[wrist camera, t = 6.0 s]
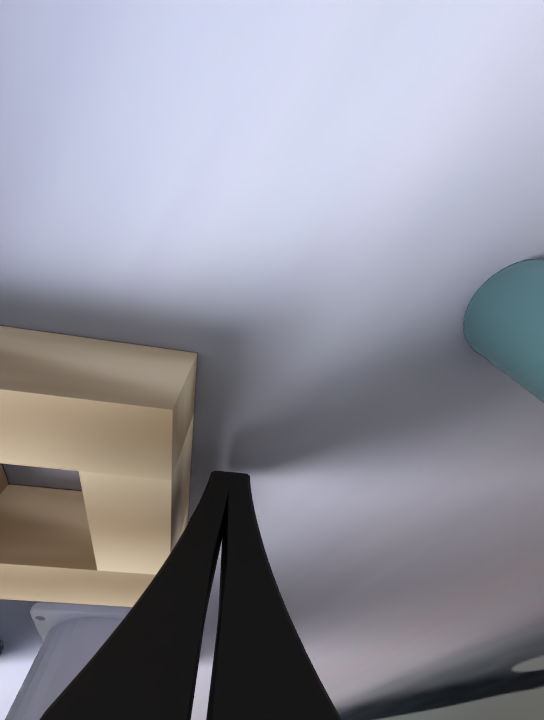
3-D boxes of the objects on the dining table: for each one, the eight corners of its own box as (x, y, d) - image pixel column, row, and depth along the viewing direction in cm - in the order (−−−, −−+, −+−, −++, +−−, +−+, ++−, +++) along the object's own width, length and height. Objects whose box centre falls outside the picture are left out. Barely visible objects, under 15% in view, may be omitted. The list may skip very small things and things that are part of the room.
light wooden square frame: (186, 535, 15) (169, 609, 12) (-37, 516, 14) (-109, 592, 11) (197, 352, 10) (172, 409, 7) (-142, 306, 9) (-307, 351, 6)
